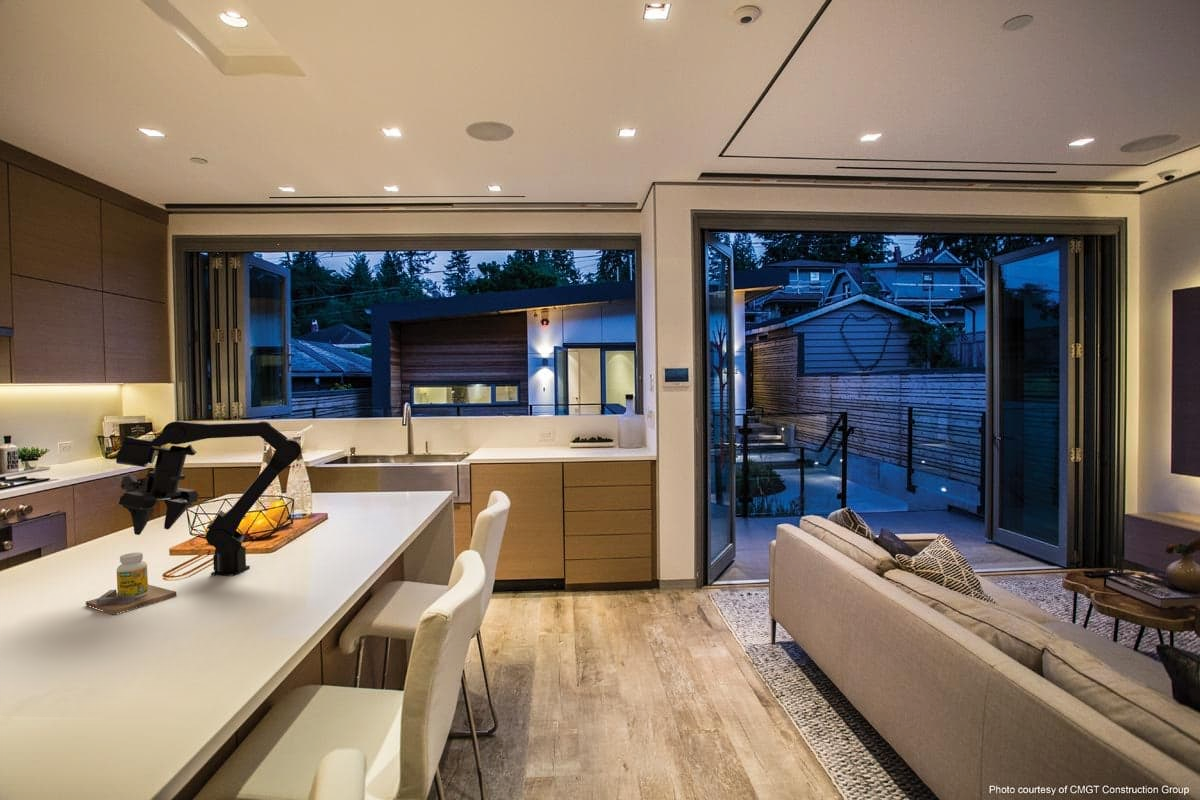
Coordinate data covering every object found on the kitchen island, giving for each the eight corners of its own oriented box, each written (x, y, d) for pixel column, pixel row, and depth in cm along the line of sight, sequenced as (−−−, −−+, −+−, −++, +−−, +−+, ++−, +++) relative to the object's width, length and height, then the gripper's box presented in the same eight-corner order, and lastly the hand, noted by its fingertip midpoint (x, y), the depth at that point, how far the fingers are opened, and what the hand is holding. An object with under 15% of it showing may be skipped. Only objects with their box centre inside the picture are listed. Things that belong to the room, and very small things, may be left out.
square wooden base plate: (148, 588, 136) (147, 578, 136) (176, 595, 131) (176, 585, 131) (84, 606, 125) (83, 595, 125) (112, 615, 120) (111, 604, 120)
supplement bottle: (149, 590, 132) (148, 549, 132) (146, 597, 128) (145, 555, 127) (119, 595, 129) (118, 553, 129) (115, 602, 125) (114, 559, 124)
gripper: (165, 462, 151) (150, 520, 149) (104, 464, 132) (87, 531, 131) (206, 470, 151) (191, 528, 149) (150, 474, 132) (133, 540, 131)
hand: (152, 531), depth 140 cm, fingers open, 9 cm apart
